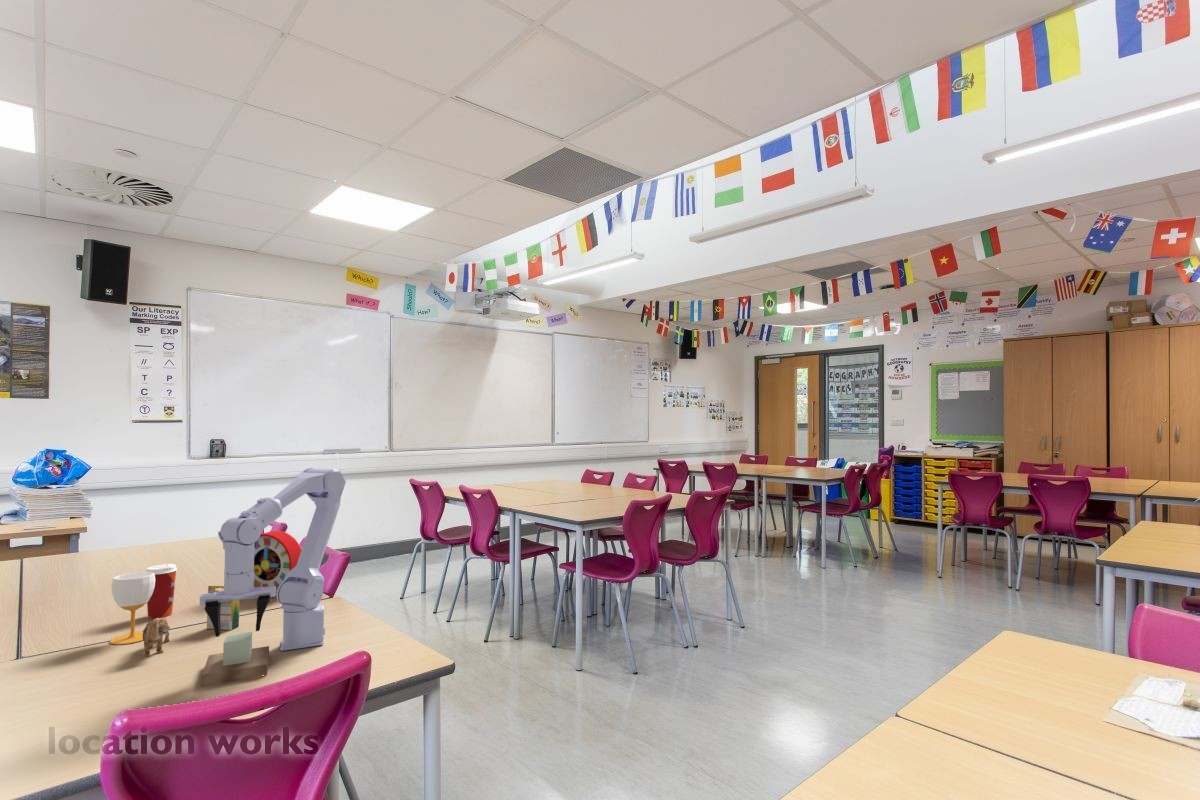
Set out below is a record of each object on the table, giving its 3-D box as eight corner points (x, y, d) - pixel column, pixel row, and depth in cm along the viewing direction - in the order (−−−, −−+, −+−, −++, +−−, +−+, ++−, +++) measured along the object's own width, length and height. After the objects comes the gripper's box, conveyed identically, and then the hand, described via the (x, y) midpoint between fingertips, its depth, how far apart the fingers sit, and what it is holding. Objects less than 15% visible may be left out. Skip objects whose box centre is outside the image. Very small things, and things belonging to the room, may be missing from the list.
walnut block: (268, 658, 140) (269, 646, 140) (266, 678, 129) (267, 664, 129) (208, 668, 134) (208, 655, 134) (201, 689, 123) (201, 675, 124)
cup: (102, 641, 150) (104, 577, 150) (143, 630, 158) (145, 569, 158) (120, 647, 145) (122, 581, 146) (161, 635, 153) (163, 573, 154)
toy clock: (235, 595, 189) (236, 533, 190) (249, 590, 195) (250, 529, 195) (291, 598, 186) (292, 534, 186) (303, 593, 191) (304, 531, 192)
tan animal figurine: (169, 656, 140) (170, 618, 140) (141, 662, 137) (142, 622, 137) (170, 638, 152) (170, 603, 152) (143, 643, 148) (144, 607, 149)
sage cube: (251, 653, 135) (252, 631, 135) (249, 661, 130) (250, 639, 131) (226, 657, 133) (226, 635, 133) (222, 665, 128) (223, 642, 128)
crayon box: (239, 626, 160) (240, 583, 161) (231, 630, 157) (232, 586, 158) (214, 625, 161) (215, 582, 162) (206, 629, 158) (207, 585, 159)
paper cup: (181, 614, 171) (182, 565, 171) (150, 621, 164) (151, 571, 165) (169, 609, 175) (170, 562, 175) (138, 616, 168) (139, 567, 169)
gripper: (197, 579, 126) (196, 643, 125) (274, 571, 132) (273, 633, 131) (203, 571, 132) (202, 633, 132) (276, 564, 138) (275, 623, 138)
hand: (238, 632), depth 132 cm, fingers open, 7 cm apart
